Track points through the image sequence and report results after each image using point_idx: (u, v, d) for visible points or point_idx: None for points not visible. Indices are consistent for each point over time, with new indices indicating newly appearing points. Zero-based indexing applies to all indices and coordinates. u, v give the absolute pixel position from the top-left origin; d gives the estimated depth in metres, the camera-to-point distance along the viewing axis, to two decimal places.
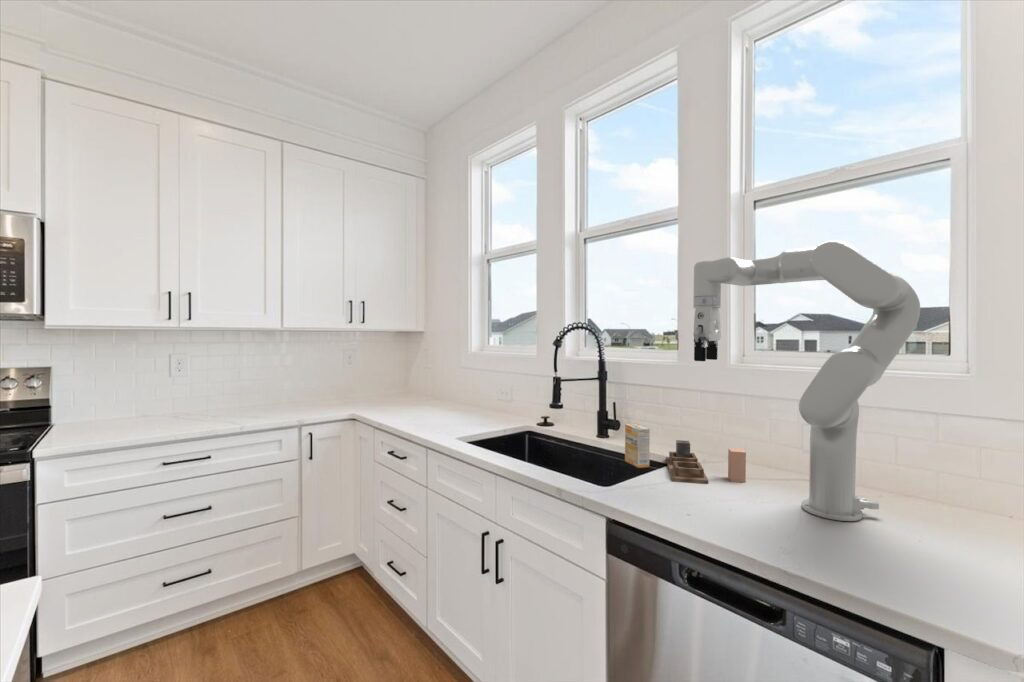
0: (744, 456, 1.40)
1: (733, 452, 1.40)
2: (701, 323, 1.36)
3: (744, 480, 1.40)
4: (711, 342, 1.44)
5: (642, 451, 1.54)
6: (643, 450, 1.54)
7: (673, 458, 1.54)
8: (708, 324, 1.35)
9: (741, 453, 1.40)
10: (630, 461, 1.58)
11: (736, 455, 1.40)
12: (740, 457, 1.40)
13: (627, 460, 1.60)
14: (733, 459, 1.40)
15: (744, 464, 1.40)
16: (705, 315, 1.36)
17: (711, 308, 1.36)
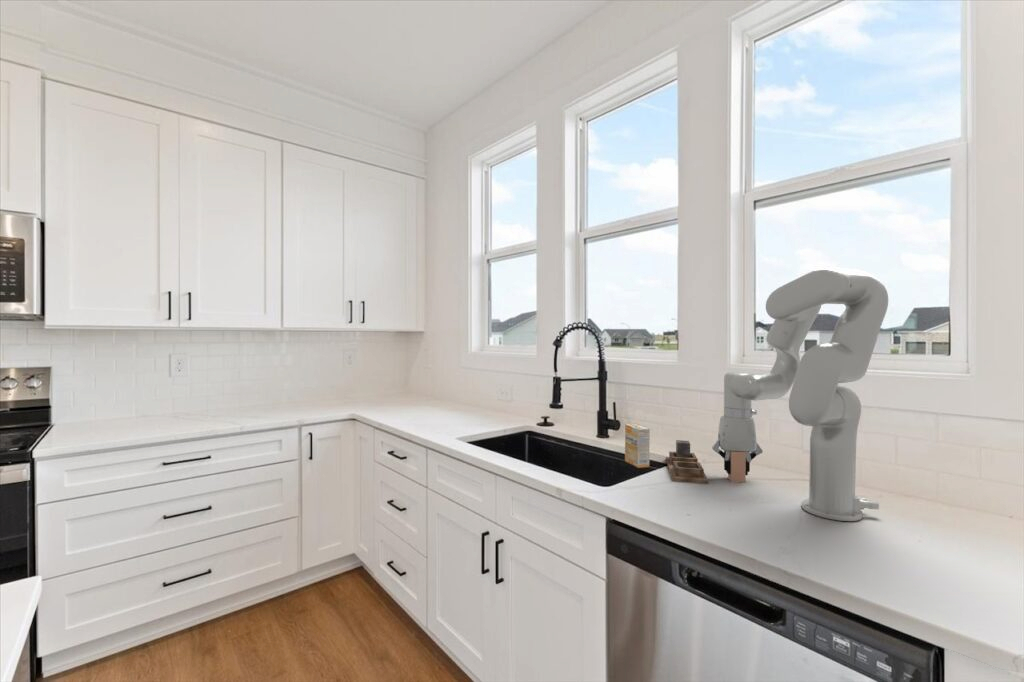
0: (744, 456, 1.40)
1: (733, 452, 1.40)
2: None
3: (744, 480, 1.40)
4: None
5: (642, 451, 1.54)
6: (643, 450, 1.54)
7: (673, 458, 1.54)
8: None
9: (741, 453, 1.40)
10: (630, 461, 1.58)
11: (736, 455, 1.40)
12: (740, 457, 1.40)
13: (627, 460, 1.60)
14: (733, 459, 1.40)
15: (744, 464, 1.40)
16: None
17: None
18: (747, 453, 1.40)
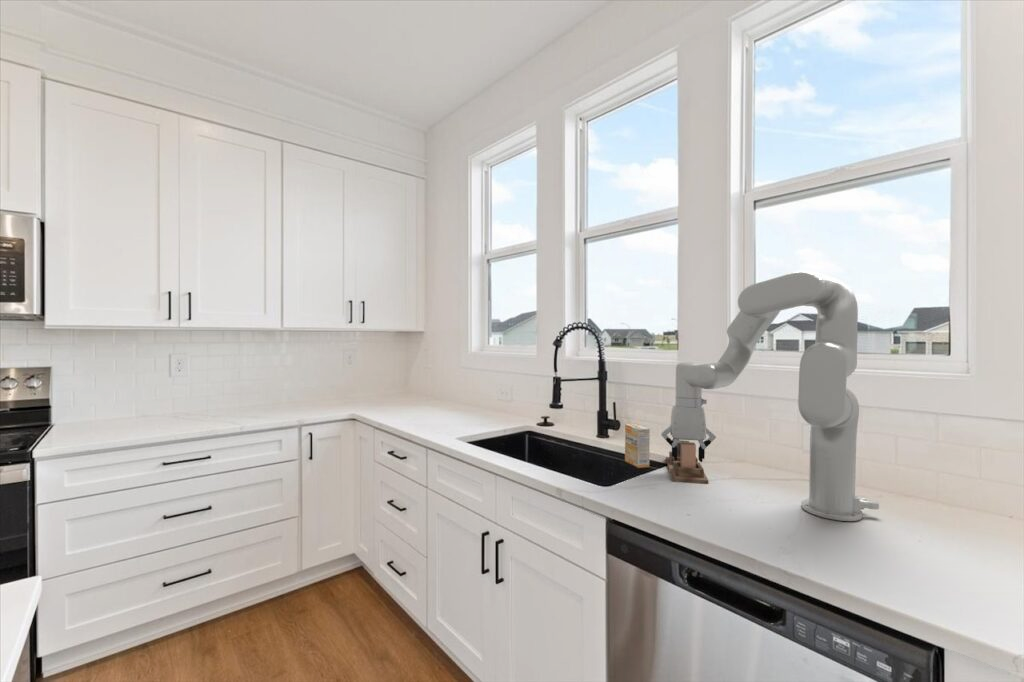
0: (694, 449, 1.43)
1: (684, 445, 1.44)
2: None
3: None
4: None
5: (642, 451, 1.54)
6: (643, 450, 1.54)
7: (673, 458, 1.54)
8: None
9: (691, 446, 1.43)
10: (630, 461, 1.58)
11: (686, 448, 1.43)
12: (690, 450, 1.43)
13: (627, 460, 1.60)
14: (684, 452, 1.43)
15: (694, 457, 1.43)
16: None
17: None
18: (700, 441, 1.43)
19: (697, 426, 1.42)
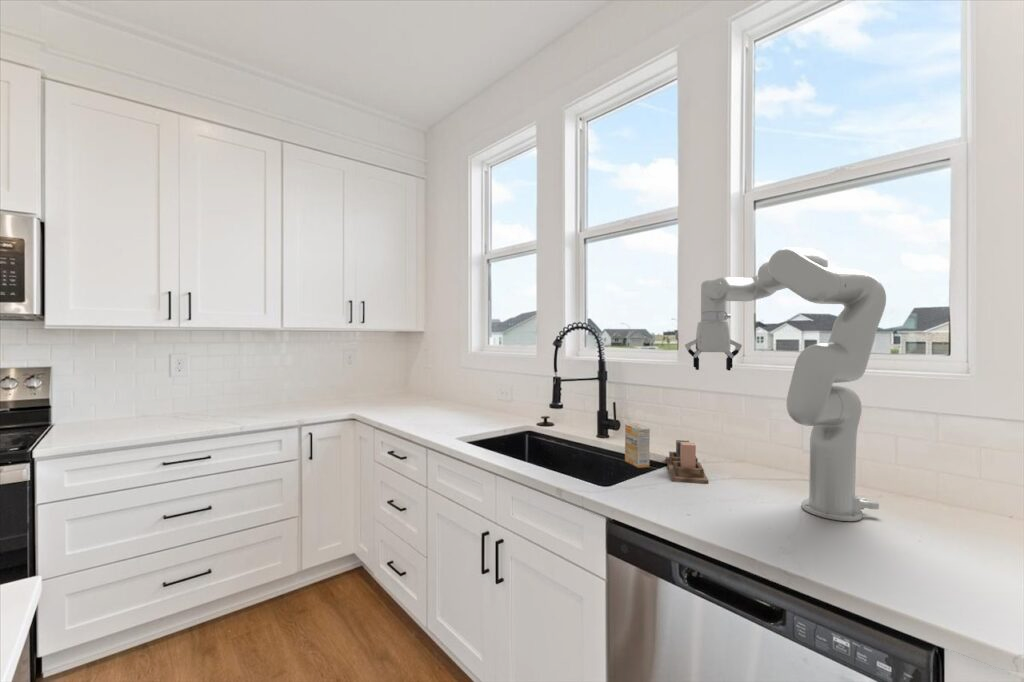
0: (694, 449, 1.43)
1: (683, 445, 1.44)
2: None
3: None
4: None
5: (642, 451, 1.54)
6: (643, 450, 1.54)
7: (673, 458, 1.54)
8: None
9: (691, 446, 1.43)
10: (630, 461, 1.58)
11: (686, 448, 1.43)
12: (690, 450, 1.43)
13: (627, 460, 1.60)
14: (684, 453, 1.44)
15: (694, 457, 1.43)
16: None
17: None
18: (727, 351, 1.52)
19: (722, 338, 1.51)
